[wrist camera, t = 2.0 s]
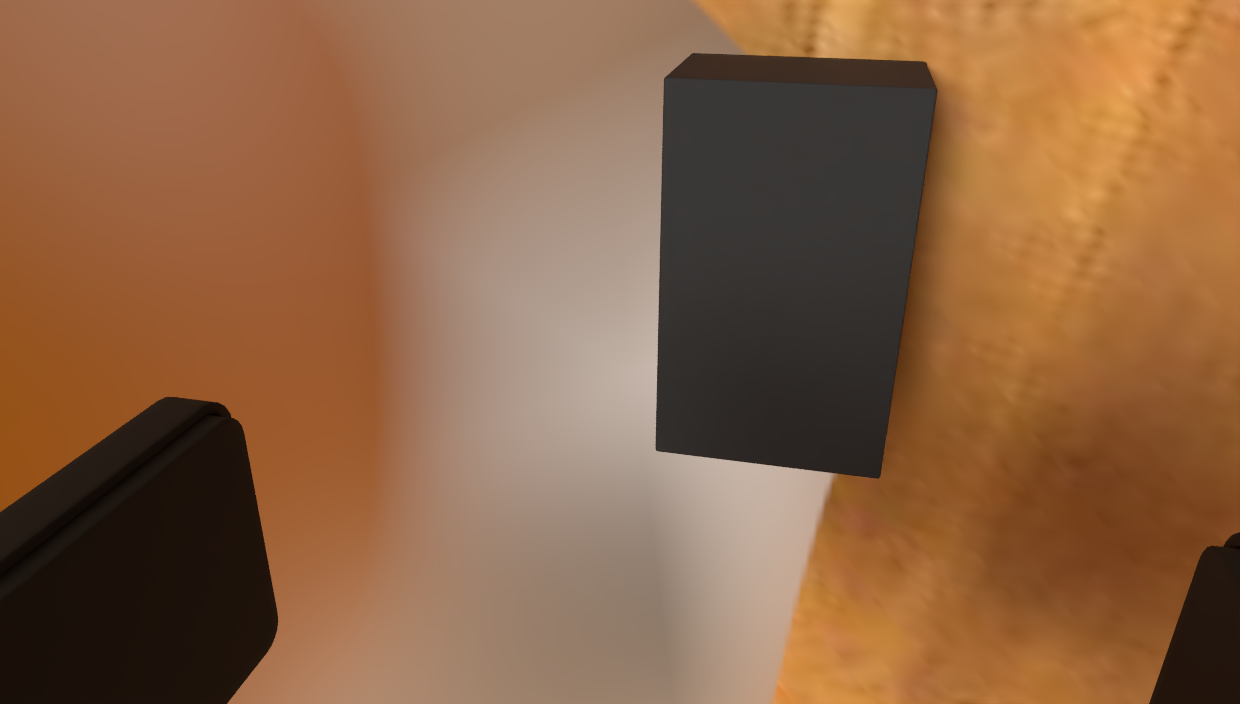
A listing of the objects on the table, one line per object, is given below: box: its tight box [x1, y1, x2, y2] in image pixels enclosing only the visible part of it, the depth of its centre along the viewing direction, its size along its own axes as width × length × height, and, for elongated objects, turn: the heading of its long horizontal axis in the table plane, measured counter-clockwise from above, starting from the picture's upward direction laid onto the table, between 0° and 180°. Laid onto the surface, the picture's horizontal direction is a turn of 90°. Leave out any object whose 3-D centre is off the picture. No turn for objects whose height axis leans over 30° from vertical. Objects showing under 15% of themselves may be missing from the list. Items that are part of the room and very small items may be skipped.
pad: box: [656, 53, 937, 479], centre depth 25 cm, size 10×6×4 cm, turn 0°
